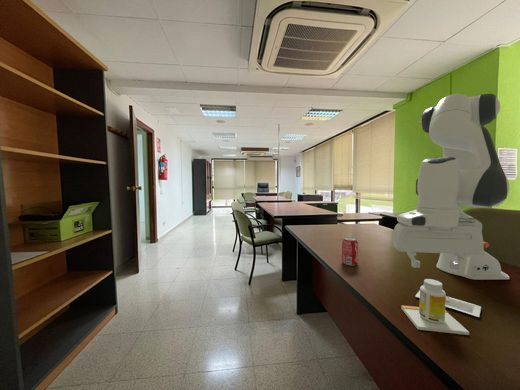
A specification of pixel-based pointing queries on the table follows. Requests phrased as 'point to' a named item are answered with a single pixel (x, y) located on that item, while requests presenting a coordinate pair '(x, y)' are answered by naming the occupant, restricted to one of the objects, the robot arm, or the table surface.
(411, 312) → the notepad
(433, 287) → the supplement bottle
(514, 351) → the table surface
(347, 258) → the soda can
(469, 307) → the touchpad
